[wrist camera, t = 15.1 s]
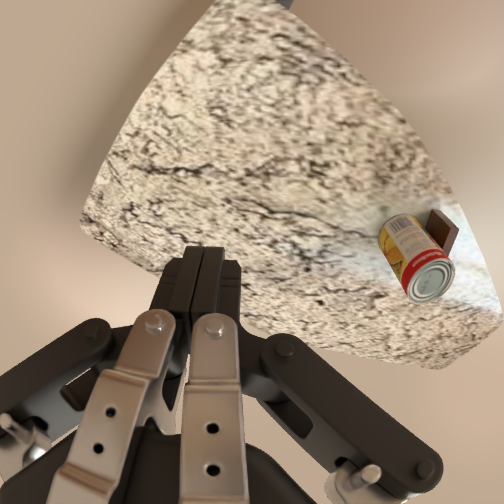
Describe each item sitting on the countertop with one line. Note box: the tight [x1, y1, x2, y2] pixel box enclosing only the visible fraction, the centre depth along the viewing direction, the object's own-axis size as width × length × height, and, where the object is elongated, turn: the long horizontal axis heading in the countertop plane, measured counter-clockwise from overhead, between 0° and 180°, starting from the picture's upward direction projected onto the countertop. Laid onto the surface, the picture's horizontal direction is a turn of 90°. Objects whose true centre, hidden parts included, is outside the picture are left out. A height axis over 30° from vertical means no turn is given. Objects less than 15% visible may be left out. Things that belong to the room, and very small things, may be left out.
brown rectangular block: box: [425, 209, 459, 257], centre depth 40 cm, size 10×2×6 cm, turn 177°
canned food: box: [378, 214, 455, 305], centre depth 37 cm, size 8×8×12 cm
